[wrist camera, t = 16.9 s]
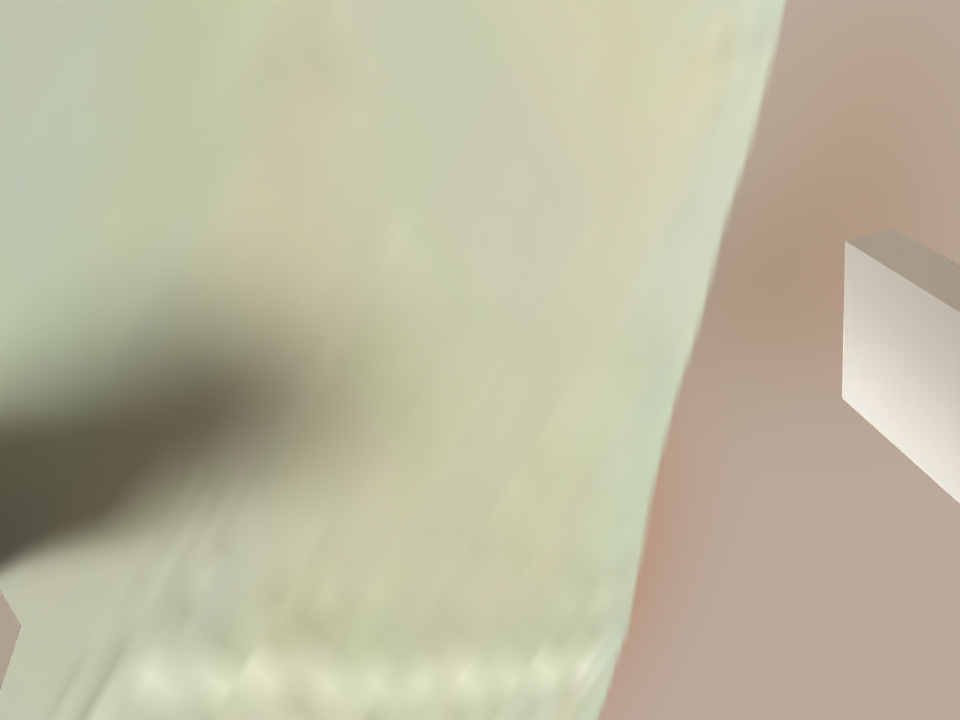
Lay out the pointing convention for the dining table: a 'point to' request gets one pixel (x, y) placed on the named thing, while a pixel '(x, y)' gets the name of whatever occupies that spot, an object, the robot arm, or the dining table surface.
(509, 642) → the dining table surface
